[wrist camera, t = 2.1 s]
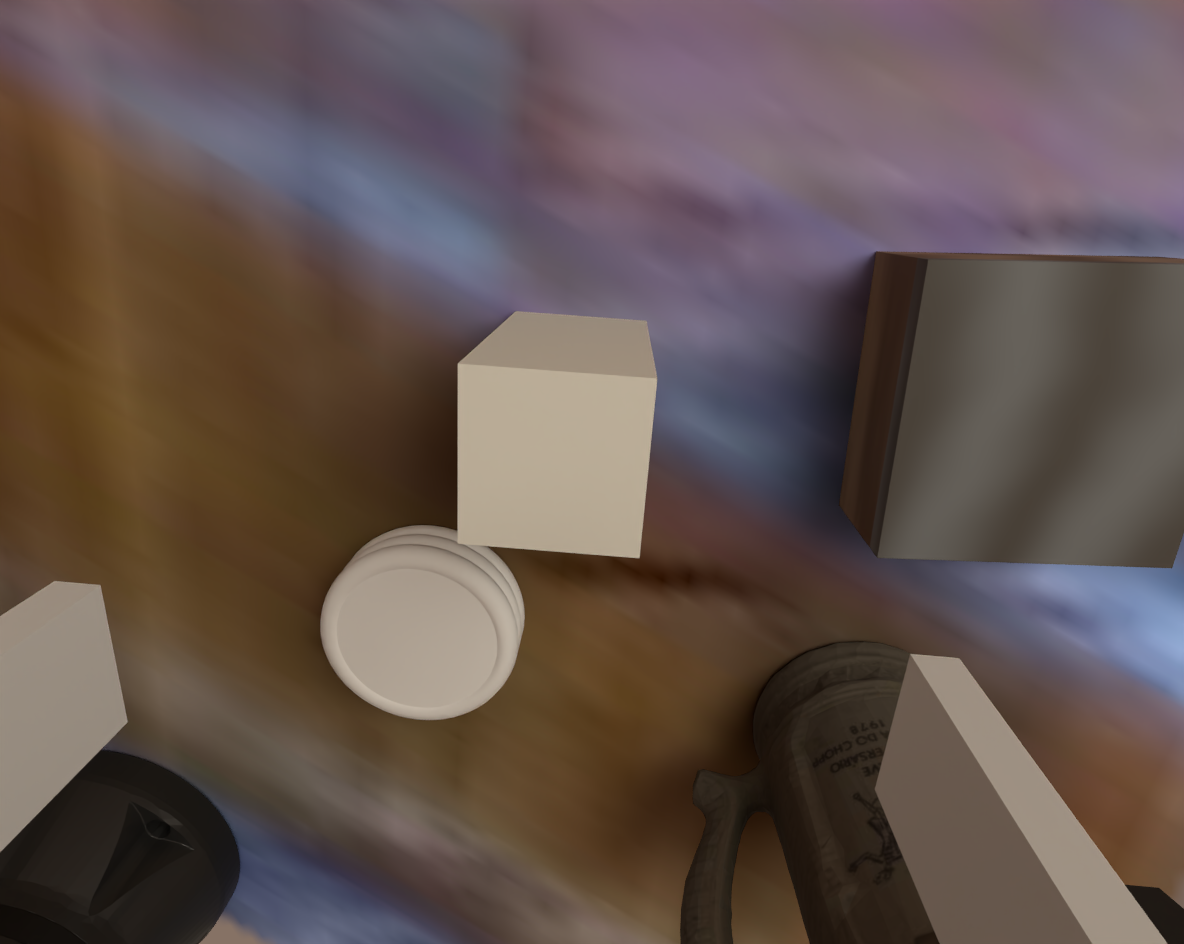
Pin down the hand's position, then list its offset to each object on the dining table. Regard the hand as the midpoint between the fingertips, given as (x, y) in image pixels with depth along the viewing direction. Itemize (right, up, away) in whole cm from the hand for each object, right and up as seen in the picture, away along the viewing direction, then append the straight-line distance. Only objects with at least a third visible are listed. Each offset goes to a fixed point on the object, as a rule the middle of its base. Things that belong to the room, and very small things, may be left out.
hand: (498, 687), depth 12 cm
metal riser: (+20, +7, +21) cm, 30 cm away
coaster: (-7, -4, +27) cm, 28 cm away
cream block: (+1, +8, +22) cm, 23 cm away
